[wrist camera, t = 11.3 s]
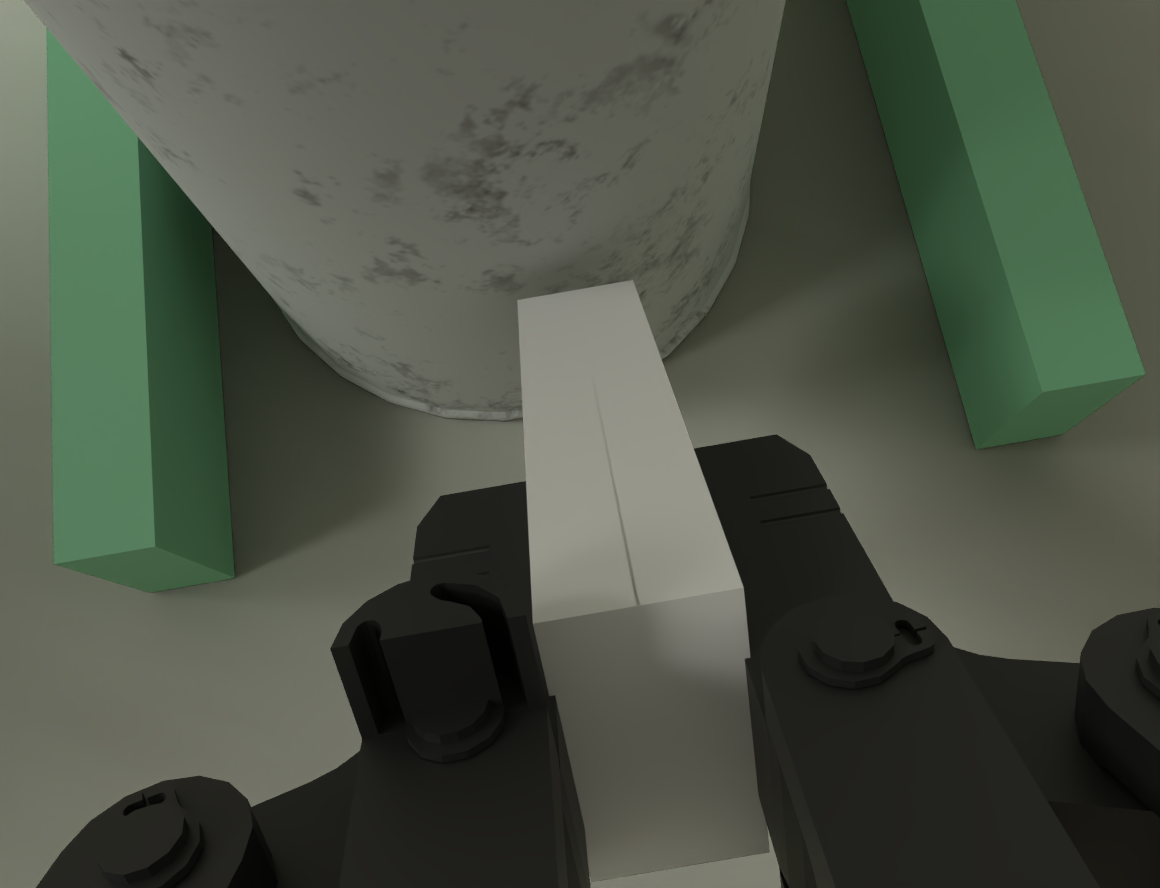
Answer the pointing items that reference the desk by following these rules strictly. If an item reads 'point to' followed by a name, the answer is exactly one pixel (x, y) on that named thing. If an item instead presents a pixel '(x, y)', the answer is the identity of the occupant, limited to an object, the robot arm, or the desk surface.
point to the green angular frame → (190, 319)
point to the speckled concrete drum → (447, 161)
